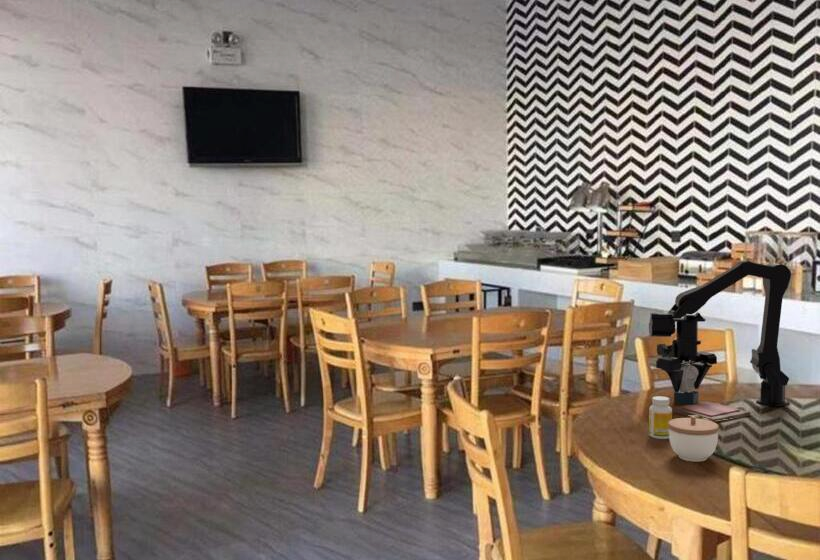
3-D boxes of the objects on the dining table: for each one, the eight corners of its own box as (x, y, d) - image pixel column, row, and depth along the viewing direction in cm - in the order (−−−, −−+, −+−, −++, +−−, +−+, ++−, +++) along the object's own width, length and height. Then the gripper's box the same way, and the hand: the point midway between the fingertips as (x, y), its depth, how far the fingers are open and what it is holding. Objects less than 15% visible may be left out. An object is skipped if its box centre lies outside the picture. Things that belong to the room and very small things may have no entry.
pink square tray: (707, 404, 224) (707, 399, 224) (749, 415, 211) (749, 410, 211) (672, 411, 217) (672, 406, 217) (713, 423, 205) (713, 417, 205)
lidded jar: (691, 468, 171) (692, 425, 170) (657, 454, 180) (657, 414, 180) (729, 460, 175) (729, 419, 174) (693, 447, 185) (694, 408, 184)
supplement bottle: (644, 435, 196) (644, 397, 195) (660, 432, 198) (661, 394, 197) (659, 440, 191) (660, 401, 190) (676, 437, 193) (676, 398, 192)
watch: (700, 400, 228) (700, 363, 227) (691, 406, 222) (691, 368, 221) (681, 398, 232) (681, 361, 231) (671, 404, 225) (671, 366, 224)
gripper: (687, 330, 236) (687, 381, 238) (642, 336, 228) (641, 389, 229) (718, 335, 227) (717, 388, 228) (671, 341, 218) (671, 397, 219)
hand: (686, 390), depth 226 cm, fingers closed on watch, 7 cm apart
